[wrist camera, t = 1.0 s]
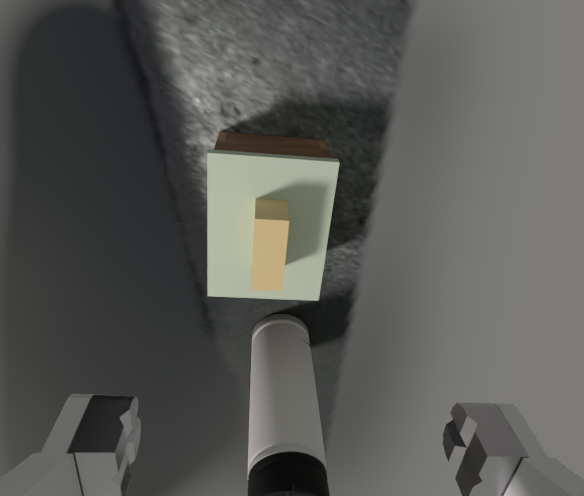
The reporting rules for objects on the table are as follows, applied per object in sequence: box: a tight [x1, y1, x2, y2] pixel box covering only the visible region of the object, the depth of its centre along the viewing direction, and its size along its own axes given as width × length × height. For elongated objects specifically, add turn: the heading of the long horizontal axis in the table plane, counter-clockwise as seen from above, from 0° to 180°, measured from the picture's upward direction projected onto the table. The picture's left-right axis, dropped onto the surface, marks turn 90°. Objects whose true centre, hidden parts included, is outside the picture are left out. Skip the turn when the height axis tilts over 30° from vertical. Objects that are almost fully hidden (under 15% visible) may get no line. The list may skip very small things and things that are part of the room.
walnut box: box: [214, 132, 331, 158], centre depth 38 cm, size 12×9×6 cm
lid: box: [207, 149, 340, 301], centre depth 34 cm, size 13×10×5 cm
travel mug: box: [248, 314, 329, 496], centre depth 40 cm, size 6×7×20 cm
